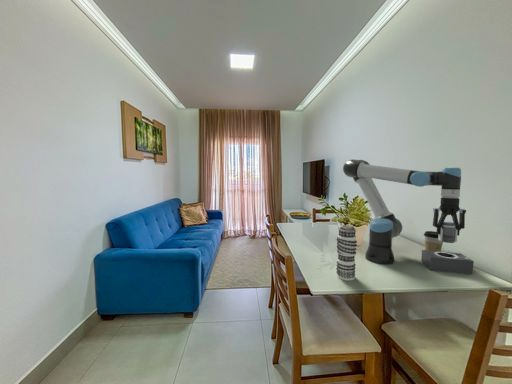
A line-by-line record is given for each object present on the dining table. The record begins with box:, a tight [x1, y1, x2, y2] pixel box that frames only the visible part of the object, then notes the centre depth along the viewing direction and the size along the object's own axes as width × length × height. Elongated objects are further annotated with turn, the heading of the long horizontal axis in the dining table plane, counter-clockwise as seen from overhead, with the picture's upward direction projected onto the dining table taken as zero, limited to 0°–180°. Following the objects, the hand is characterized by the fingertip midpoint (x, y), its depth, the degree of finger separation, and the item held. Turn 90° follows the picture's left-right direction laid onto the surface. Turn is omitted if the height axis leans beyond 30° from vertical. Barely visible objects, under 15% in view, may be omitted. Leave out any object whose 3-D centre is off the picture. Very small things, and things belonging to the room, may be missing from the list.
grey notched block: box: [420, 249, 475, 275], centre depth 123 cm, size 18×12×8 cm, turn 72°
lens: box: [441, 221, 456, 244], centre depth 122 cm, size 6×6×10 cm
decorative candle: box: [335, 224, 358, 282], centre depth 112 cm, size 9×9×25 cm
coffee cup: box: [423, 230, 444, 252], centre depth 138 cm, size 10×10×15 cm
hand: (447, 240), depth 122 cm, fingers closed on lens, 6 cm apart
